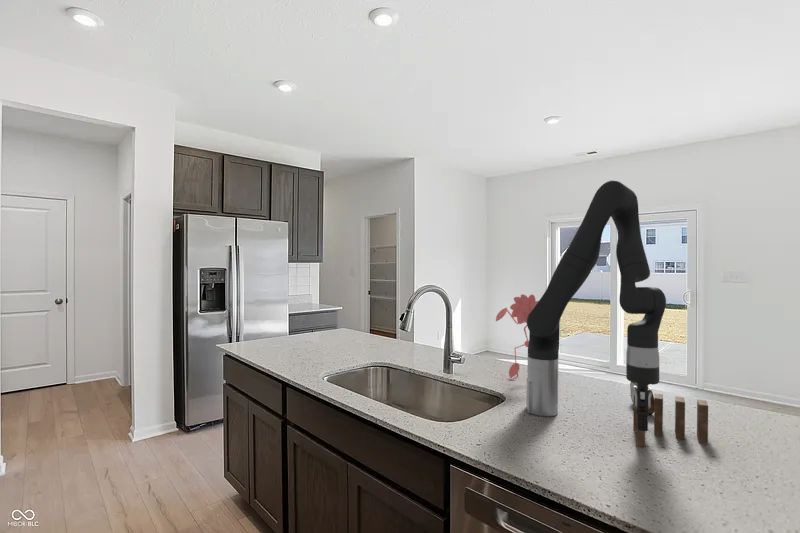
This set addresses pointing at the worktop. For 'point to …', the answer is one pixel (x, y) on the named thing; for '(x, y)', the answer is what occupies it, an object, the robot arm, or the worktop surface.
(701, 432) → the tile
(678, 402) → the tile
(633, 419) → the tile
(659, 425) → the tile
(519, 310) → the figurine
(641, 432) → the end tile
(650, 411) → the tin
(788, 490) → the worktop surface
